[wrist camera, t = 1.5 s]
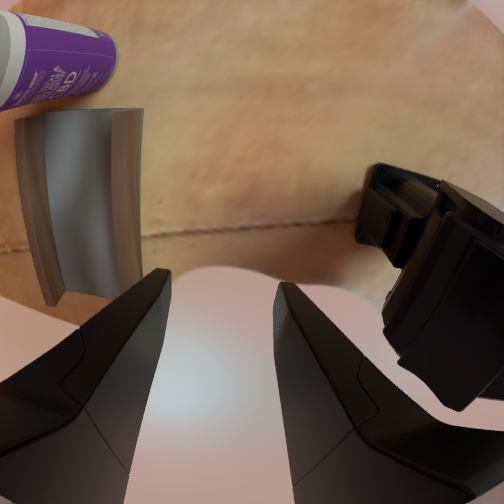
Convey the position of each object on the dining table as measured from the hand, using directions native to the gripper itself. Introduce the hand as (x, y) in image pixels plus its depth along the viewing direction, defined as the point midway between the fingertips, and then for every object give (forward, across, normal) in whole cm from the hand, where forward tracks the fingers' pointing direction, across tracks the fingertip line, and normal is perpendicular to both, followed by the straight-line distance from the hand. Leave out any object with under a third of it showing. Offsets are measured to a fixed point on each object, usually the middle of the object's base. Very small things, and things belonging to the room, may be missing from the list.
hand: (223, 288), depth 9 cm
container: (+13, +11, -7) cm, 19 cm away
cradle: (+13, +11, +4) cm, 18 cm away
